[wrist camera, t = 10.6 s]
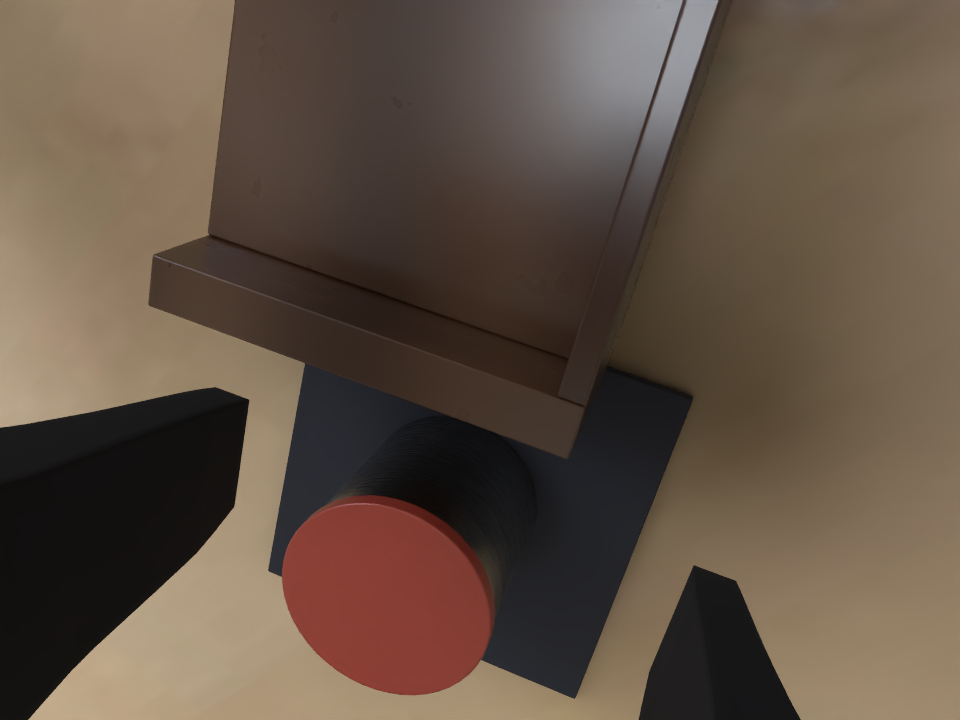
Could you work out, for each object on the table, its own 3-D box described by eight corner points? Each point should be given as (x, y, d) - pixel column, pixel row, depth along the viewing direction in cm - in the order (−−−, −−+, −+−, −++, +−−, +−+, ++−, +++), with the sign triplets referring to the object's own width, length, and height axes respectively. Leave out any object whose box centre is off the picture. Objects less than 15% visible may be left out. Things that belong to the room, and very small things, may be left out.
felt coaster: (693, 395, 21) (692, 400, 21) (576, 692, 25) (574, 699, 25) (326, 268, 23) (321, 271, 22) (272, 565, 27) (267, 571, 26)
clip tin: (563, 450, 22) (516, 555, 18) (514, 600, 24) (460, 728, 20) (387, 386, 23) (299, 470, 18) (353, 535, 25) (267, 644, 20)
